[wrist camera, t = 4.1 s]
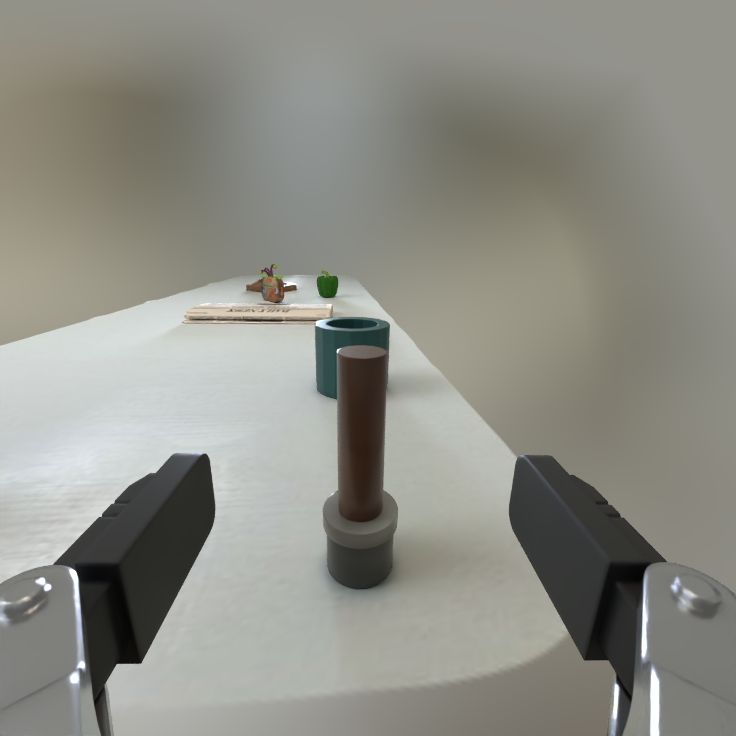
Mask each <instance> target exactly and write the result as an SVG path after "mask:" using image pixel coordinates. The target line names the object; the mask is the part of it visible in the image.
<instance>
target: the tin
mask: <svg viewBox="0 0 736 736" xmlns="http://www.w3.org/2000/svg"><path fill="white" fill-rule="evenodd" d="M261 292H262V296H263V298H264V299H265V300H267V301H271V302H281V301H282V300H283V298H284V283H283V281H282V280H281V279H280V278H272V277H264V278H263V279H262V283H261Z"/></svg>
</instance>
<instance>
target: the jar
mask: <svg viewBox="0 0 736 736" xmlns="http://www.w3.org/2000/svg"><path fill="white" fill-rule="evenodd" d="M389 331H390V324H389V323H388V322H386V321H383V320H379V319H374V318H364V317H337V318H328V319H324V320H319V321H318V322H316V323H315V348H316V382H317V390H318V391H319V392H320V393H321V394H323V395H325V396H328V397H331V398H335V399H337V351H338V350H339V349H340V348H343V347H347V346H355V345H367V346H375V347H380V348H383V349H385V350H386V351H387V383H386V390H387V384H388V361H389Z"/></svg>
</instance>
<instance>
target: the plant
mask: <svg viewBox="0 0 736 736" xmlns="http://www.w3.org/2000/svg"><path fill="white" fill-rule="evenodd" d="M273 267H274V268H276V267H277V266H276V265H274V264H273V265H272V266H271V268H270V271H269V269H268V268H265V269H264V270H261V271H260V274H262V273H263V271H264V272H266V273H267V275H268V276H267V275H266V277H272V278H280V279H281V278H282V277H283V276H281V277H279V276H278V277H277V275H276V276H274V275H273V272H272V268H273ZM266 269H267V270H266ZM267 271H268V272H267ZM261 277H262V278H264V276H261ZM261 283H262V279H261V280H260V279H259V281H257V282H254V283H252V284H248V285H246V287H247V290H251V291H260V292H261ZM291 290H297V288H296V285H295V284H293V283H290V282H286V283H285V282H284V291H291Z"/></svg>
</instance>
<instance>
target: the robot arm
mask: <svg viewBox="0 0 736 736" xmlns="http://www.w3.org/2000/svg"><path fill="white" fill-rule="evenodd" d="M509 517H510V522H511V526H512V529H513V531H514V533H515V535H516V537H517V539H518V541H519V542H520V544H521V546H522V548H523V550H524V552H525V553H526V555H527V557H528V559H529V561H530V562H531V564H532V566H533V568H534V570H535V572H536V573H537V575H538V577H539V579H540V581H541V582H542V584H543V586H544V588H545V590H546V592H547V593H548V595H549V597H550V599H551V601H552V603H553V604H554V606H555V608H556V610H557V612H558V613H559V615H560V617H561V619H562V621H563V623H564V624H565V626H566V628H567V630H568V632H569V634H570V635H571V637H572V639H573V641H574V643H575V644H576V646H577V648H578V650H579V652H580V654H581V655H582V657H583V659H584V660H609V662H610V663H611V665H612V667H613V668H614V670H615V674H614V677H613V682H612V686H611V697H610V707H609V718H608V728H607V736H736V595H735V594H734V593H733V592H732V591H730V590H729V589H728V588H727V587H726V586H724V585H723V584H721V583H720V582H718V581H716V580H715V579H713V578H711V577H710V576H708V575H706V574H704V573H702V572H700V571H697V570H695V569H693V568H689V567H687V566H684V565H680V564H676V563H669V562H667V561H666V560H665V559H664V558H663V557H662V556H661V555H660V554H659V553H658V552H657V551H656V550H655V549H654V548H653V547H652V546H651V545H650V544H649V543H648V542H647V541H646V540H645V539H644V538H643V537H642V536H641V535H640V534H639V533H638V532H637V531H636V530H635V529H634V528H633V527H632V526H631V525H630V524H629V523H628V522H627V521H626V520H625V519H624V518H621V517H620V514H619V513H618V512H617V511H616V510H615V508H614V507H613V506H612V505H608V502H607V500H606V499H605V498H603V496H602V495H601V494H600V493H599V492H598V491H597V490H596V489H595V488H594V487H592V486H591V485H589V484H587V483H586V482H584V481H582V480H581V479H579V478H578V477H576V476H574V475H569V474H568V473H567V472H566V471H565V470H564V469H563V468H562V466H560V464H559V463H558V462H557V461H556V460H555V459H554V458H553V457H552V456H548V455H542V456H541V455H536V456H535V455H521V456H519V457H518V458H517V461H516V465H515V471H514V478H513V484H512V491H511V497H510V504H509ZM214 518H215V499H214V491H213V483H212V475H211V466H210V460H209V457H208V455H207V454H202V453H176V454H173V455H172V456H171V457H170V458H169V459H168V460H167V461H166V462H165V464H164V465H163V466H162V467H161V468H160V469H159V470H158V471H157V472H156V473H150V474H148V475H146V476H145V477H143V478H142V479H140V480H138V481H137V482H135V483H133V484H132V485H130V486H129V487H128V488H127V489H126V490H125V491H124V492H123V493H122V494H121V495H120V496H119V497H118V498H117V499H116V500H115V503H114V504H111V505H110V506H109V507H108V508H107V509H106V510H105V511H104V513H103V514H102V517H99V518H98V519H97V520H96V521H95V522H94V523H93V524H92V525H91V526H90V527H89V528H88V529H87V530H86V531H85V532H84V533H83V534H82V535H81V536H80V537H79V538H78V539H77V540H76V541H75V542H74V543H73V544H72V546H71V547H70V548H69V549H68V550H67V551H66V552H65V553H64V554H63V555H62V556H61V557H60V558H59V559H58V560H57V561H56V562H55V563H54V564H53V565H49V566H43V567H39V568H35V569H32V570H29V571H26V572H23V573H21V574H18V575H16V576H14V577H12V578H10V579H8V580H6V581H4V582H3V583H1V584H0V736H114V733H113V725H112V717H111V709H110V701H109V693H108V689H107V685H106V681H107V680H108V678H109V676H110V675H111V673H112V671H113V669H114V668H115V666H116V664H141V663H142V661H143V659H144V657H145V655H146V653H147V651H148V649H149V648H150V646H151V644H152V642H153V640H154V638H155V636H156V634H157V632H158V630H159V629H160V627H161V625H162V623H163V621H164V619H165V617H166V615H167V613H168V611H169V610H170V608H171V606H172V604H173V602H174V600H175V598H176V596H177V594H178V592H179V590H180V589H181V587H182V585H183V583H184V581H185V579H186V577H187V575H188V573H189V571H190V570H191V568H192V566H193V564H194V562H195V560H196V558H197V556H198V554H199V552H200V551H201V549H202V547H203V545H204V543H205V541H206V539H207V537H208V535H209V533H210V531H211V529H212V526H213V523H214Z"/></svg>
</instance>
